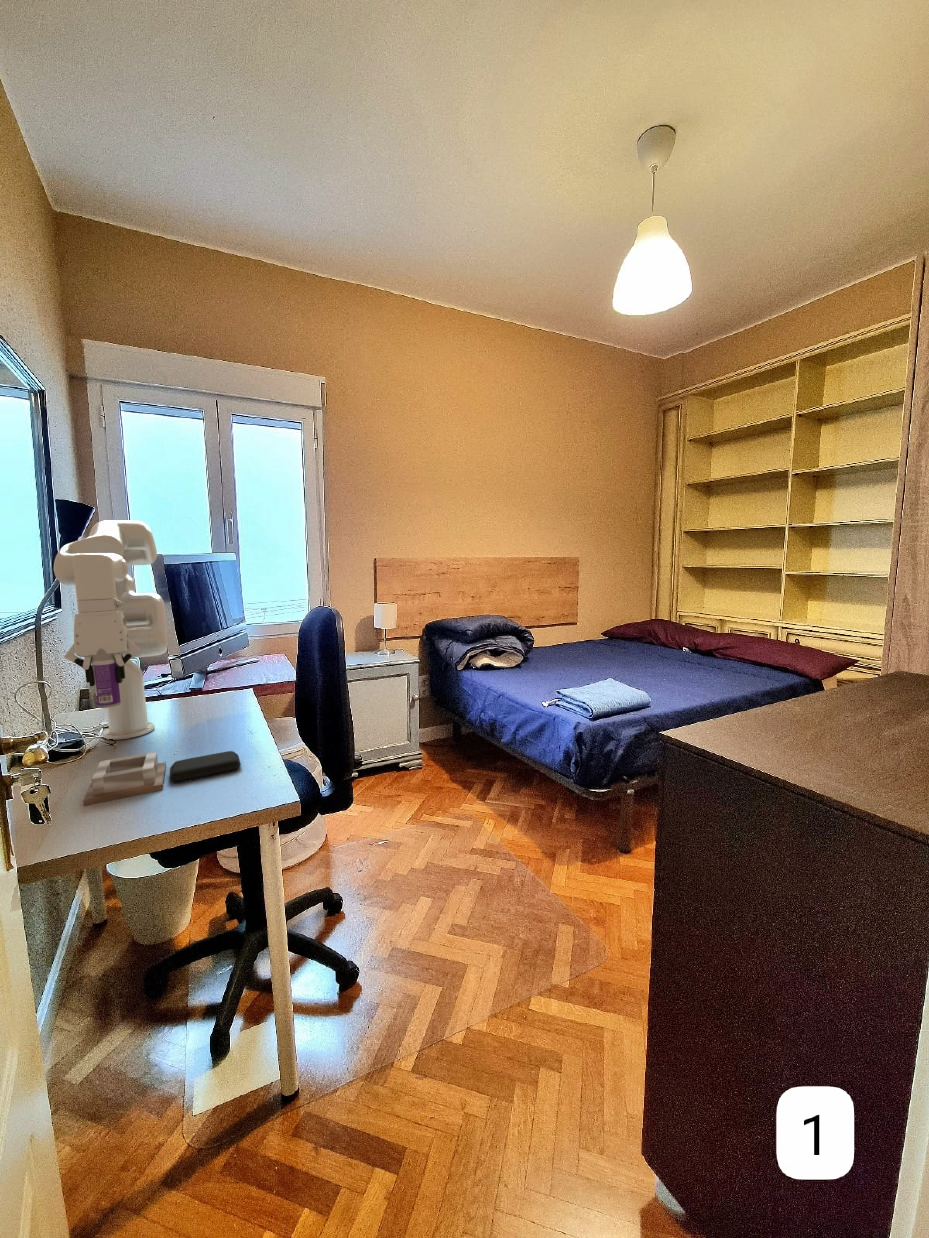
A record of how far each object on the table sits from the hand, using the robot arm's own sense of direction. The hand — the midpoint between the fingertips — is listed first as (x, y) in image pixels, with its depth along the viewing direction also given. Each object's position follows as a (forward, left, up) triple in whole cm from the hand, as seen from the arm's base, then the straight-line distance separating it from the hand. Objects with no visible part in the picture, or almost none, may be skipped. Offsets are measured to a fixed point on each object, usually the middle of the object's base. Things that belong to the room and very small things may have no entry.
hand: (106, 682), depth 119 cm
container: (0, 0, -6) cm, 6 cm away
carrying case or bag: (+12, +19, -22) cm, 32 cm away
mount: (+12, +4, -21) cm, 25 cm away
